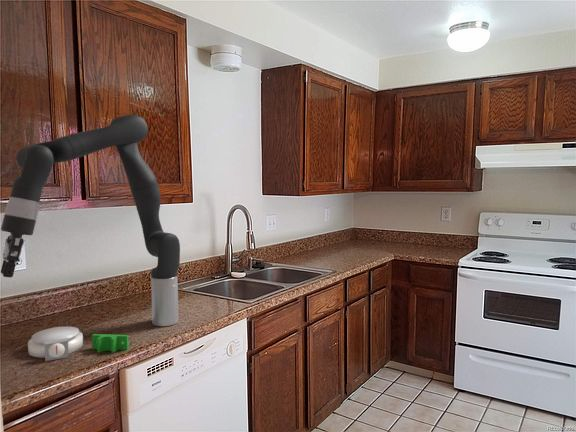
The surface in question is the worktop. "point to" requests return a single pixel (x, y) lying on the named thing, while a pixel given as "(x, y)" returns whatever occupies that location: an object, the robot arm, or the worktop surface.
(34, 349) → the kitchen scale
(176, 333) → the worktop surface
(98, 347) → the pipe clamp
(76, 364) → the worktop surface
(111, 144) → the robot arm
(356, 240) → the worktop surface
